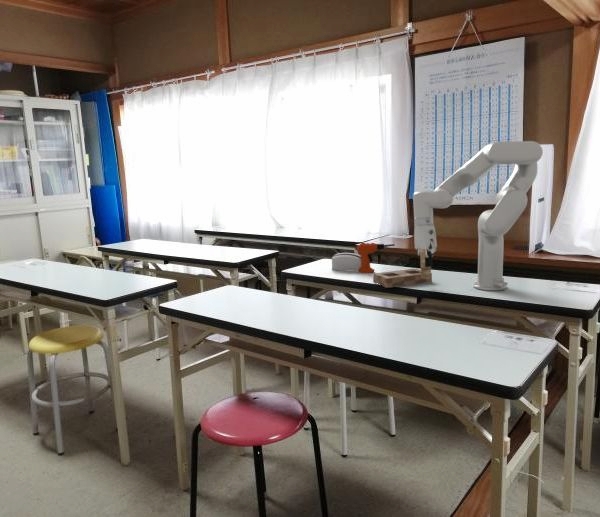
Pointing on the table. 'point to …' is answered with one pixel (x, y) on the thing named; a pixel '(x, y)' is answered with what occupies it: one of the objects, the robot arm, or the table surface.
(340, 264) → the grey toaster
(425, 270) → the peg
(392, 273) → the board
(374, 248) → the toy drill
